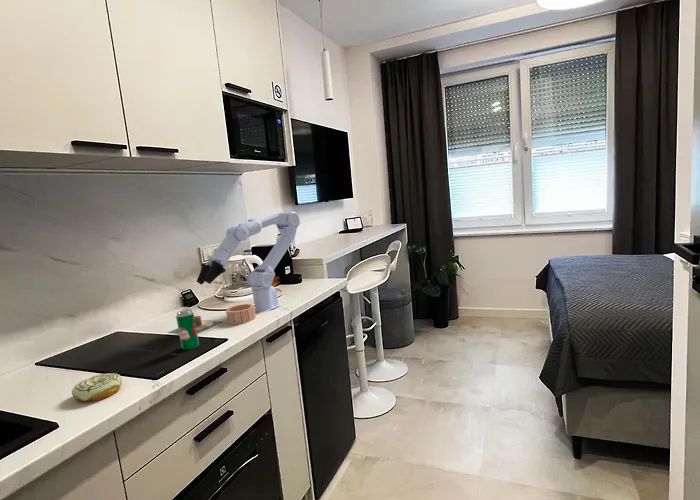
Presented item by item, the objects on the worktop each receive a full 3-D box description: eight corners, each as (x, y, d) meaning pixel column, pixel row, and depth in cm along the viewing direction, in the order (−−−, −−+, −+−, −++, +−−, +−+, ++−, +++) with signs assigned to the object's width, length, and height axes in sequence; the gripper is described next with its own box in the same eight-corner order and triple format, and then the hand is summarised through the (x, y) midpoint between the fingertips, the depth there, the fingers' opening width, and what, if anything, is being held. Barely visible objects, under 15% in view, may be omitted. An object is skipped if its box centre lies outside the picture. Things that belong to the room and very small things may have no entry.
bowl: (241, 316, 156) (239, 303, 156) (261, 317, 152) (259, 304, 151) (222, 324, 148) (220, 311, 147) (242, 326, 143) (240, 312, 142)
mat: (198, 321, 157) (198, 319, 157) (224, 322, 150) (224, 321, 150) (167, 333, 145) (167, 332, 144) (194, 336, 138) (194, 334, 138)
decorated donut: (83, 409, 93) (79, 394, 92) (68, 398, 100) (65, 384, 99) (130, 389, 101) (127, 375, 100) (113, 380, 107) (110, 367, 107)
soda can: (178, 350, 125) (171, 313, 123) (191, 344, 129) (185, 308, 127) (189, 352, 122) (183, 314, 121) (202, 345, 127) (196, 309, 125)
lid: (198, 320, 155) (196, 312, 155) (220, 322, 149) (218, 313, 149) (171, 331, 145) (169, 322, 144) (194, 333, 139) (192, 323, 139)
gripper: (207, 247, 152) (186, 277, 146) (223, 243, 141) (201, 275, 135) (222, 259, 156) (202, 288, 149) (239, 255, 145) (218, 286, 138)
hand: (203, 282), depth 142 cm, fingers open, 7 cm apart
